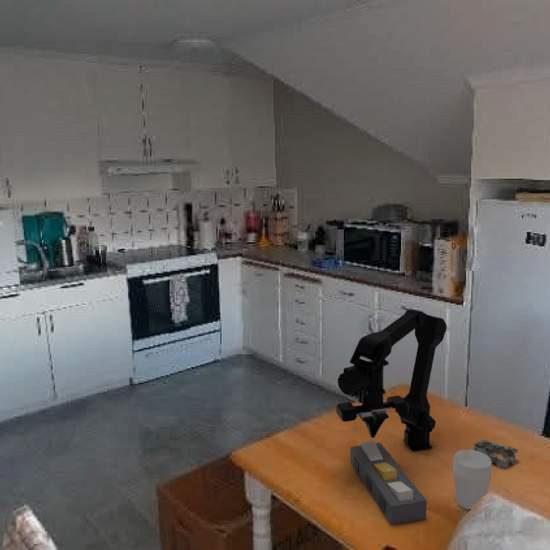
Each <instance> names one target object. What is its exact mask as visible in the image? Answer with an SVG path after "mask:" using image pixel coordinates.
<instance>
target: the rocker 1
mask: <svg viewBox="0 0 550 550" xmlns="http://www.w3.org/2000/svg"><path fill="white" fill-rule="evenodd" d="M375 443H376V442H375V440H368V441H365V442H364V441H363V442H361V449H362V452H363V453H364V454H365V456H366V457H367V459H368V460H369V461H370V462H375V461H382V460H383V457H382V455H381V453H380V451H379V450H378V448H377V446H376V444H375Z"/></svg>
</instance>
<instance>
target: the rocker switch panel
mask: <svg viewBox="0 0 550 550" xmlns="http://www.w3.org/2000/svg"><path fill="white" fill-rule="evenodd" d="M375 444H376V446H377V448H378V450H379V451H380V453H381V455H382V457H383V460H382V461H375V462H370V461H369V460H368V459H367V457H366V456H365V454H364V453H363V452H362V449H361V445H360V444H359V445H353V446H350V447H349V452H350V453H349V454H350V455H349V456H350V457H349V458H350V459H349V460H350V461H349V463H350V465H351V466H352V468H353V470H354V471H355V473H356V474H357V476H358V477H359V478H360V480H361V482H362V483H363V485H364V486H365V488H366V490H367V491H368V493H369V494H370V496H371V497H372V498H373V500H374V502H375V503H376V505H377V507H378V508H379V509H380V510H381V512H382V514H383V516H384V517H385V519H386V520H387V521H388V523H389V525H390V526H395V525H400V524H406V523H407V524H408V523H412V522H416V521H417V522H418V521H421V520H427V503H428V501H427V499H426V497H425V496H424V495H423V494H422V493H421V491H420V490H419V489H418V488H417V487H416V485H415V484H414V483H413V482H412V480H411V479H410V478H409V476H408V475H407V474H406V473H405V472H404V470H403V469H402V468H401V466H400V465H399V464H398V463H397V462H396V460H395V459H394V458H393V456H392V455H391V453H389V452H388V450H387V449H386V448H385V447H384V445H383V444H382V442H375ZM385 462H386V463H388V464H389V465H390V466H392V467H393V468H395V469H396V470H397V478H398V479H392V480H386V481H384V480H383V479H382V478H381V477H380V475H379V474H378V473H377V471H376V470H375V468H374V467H373V464H379V463H385ZM398 481H401V482H402V483H404V484H405V485H406V486H408V487H409V488H410V489H412V490H413V500H407V501H402V502H399V501H398V500H397V499H396V498H395V496H394V495H393V493H392V492H391V491H390V489H389V488H388V486H387V483H392V482H398Z"/></svg>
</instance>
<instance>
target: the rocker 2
mask: <svg viewBox="0 0 550 550" xmlns="http://www.w3.org/2000/svg"><path fill="white" fill-rule="evenodd" d="M373 467H374V468H375V470H376V471H377V473H378V474H379V475H380V477H381V478H382V479H383V480H384V481H386V480H392V479H398V478H397V470H396V469H395V468H393V467H392V466H390V465H389V464H388V463H386V462H385V463H379V464H373Z"/></svg>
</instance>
